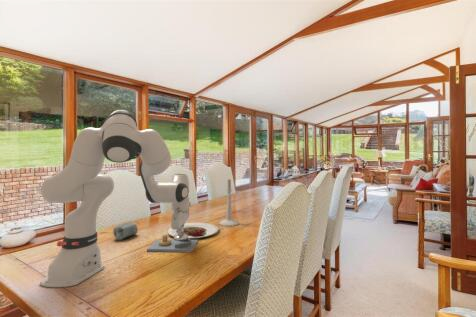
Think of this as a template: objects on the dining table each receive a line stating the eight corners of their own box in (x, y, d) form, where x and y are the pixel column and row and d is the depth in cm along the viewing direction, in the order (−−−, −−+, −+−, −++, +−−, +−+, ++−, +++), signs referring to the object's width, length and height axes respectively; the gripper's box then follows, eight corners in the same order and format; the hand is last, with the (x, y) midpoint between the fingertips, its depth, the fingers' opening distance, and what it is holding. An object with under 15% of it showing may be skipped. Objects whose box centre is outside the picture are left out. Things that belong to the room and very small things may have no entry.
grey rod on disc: (235, 220, 183) (235, 177, 182) (241, 225, 171) (241, 179, 170) (217, 222, 179) (217, 178, 178) (222, 227, 167) (222, 180, 166)
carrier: (192, 252, 126) (192, 240, 125) (147, 251, 126) (146, 239, 126) (197, 242, 140) (197, 231, 139) (157, 241, 140) (157, 230, 140)
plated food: (190, 223, 177) (190, 218, 177) (228, 229, 162) (228, 224, 162) (156, 235, 151) (156, 229, 151) (197, 244, 136) (197, 238, 136)
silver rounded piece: (185, 241, 129) (185, 229, 129) (171, 241, 129) (171, 228, 129) (189, 236, 136) (189, 225, 136) (176, 236, 136) (175, 224, 136)
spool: (120, 237, 138) (119, 218, 142) (109, 242, 141) (108, 224, 146) (142, 236, 149) (140, 219, 153) (131, 241, 153) (130, 225, 157)
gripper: (181, 210, 121) (181, 240, 122) (191, 202, 142) (191, 227, 142) (167, 210, 122) (168, 239, 122) (179, 201, 142) (179, 227, 143)
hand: (180, 233), depth 132 cm, fingers closed on silver rounded piece, 3 cm apart
